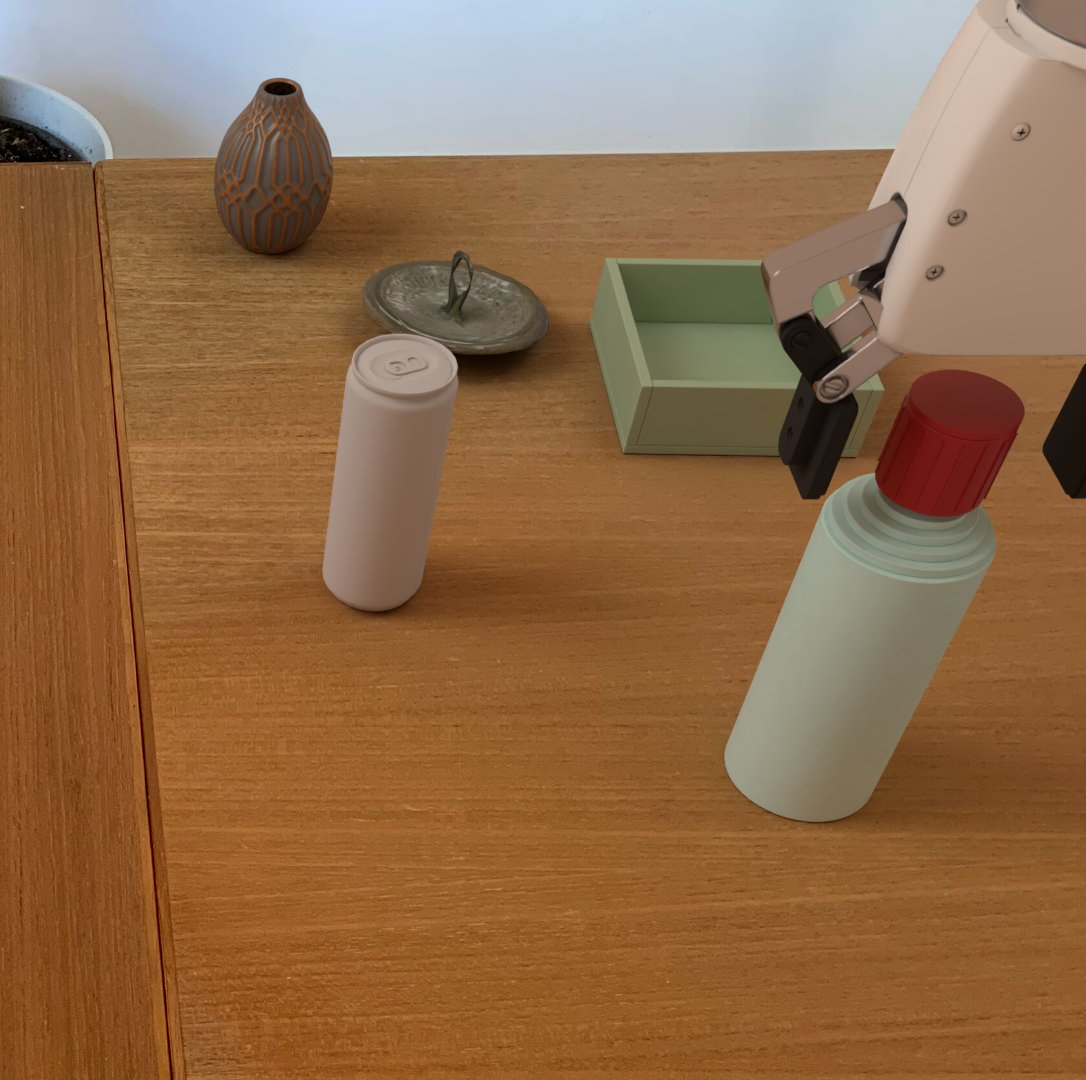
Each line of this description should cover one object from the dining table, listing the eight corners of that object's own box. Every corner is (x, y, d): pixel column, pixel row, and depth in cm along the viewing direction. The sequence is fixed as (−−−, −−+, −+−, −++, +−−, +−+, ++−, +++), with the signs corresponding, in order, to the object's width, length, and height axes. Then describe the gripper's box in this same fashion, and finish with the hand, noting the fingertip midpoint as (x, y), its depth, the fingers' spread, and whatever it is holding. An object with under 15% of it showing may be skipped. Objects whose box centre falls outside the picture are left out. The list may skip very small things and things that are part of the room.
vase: (268, 280, 98) (280, 129, 92) (187, 234, 102) (193, 84, 95) (350, 239, 101) (367, 89, 94) (269, 195, 104) (280, 47, 97)
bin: (805, 327, 96) (829, 260, 92) (857, 457, 88) (885, 390, 85) (589, 323, 96) (605, 257, 93) (622, 453, 88) (641, 386, 85)
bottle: (853, 719, 76) (1025, 362, 62) (889, 824, 72) (1081, 468, 58) (711, 717, 76) (849, 359, 62) (739, 821, 72) (894, 465, 58)
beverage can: (303, 567, 83) (328, 346, 73) (390, 542, 84) (425, 321, 74) (350, 627, 80) (382, 406, 70) (438, 601, 81) (482, 379, 72)
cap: (862, 451, 64) (897, 367, 61) (967, 453, 64) (1007, 369, 61) (888, 517, 61) (925, 432, 59) (997, 519, 61) (1040, 435, 58)
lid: (340, 383, 95) (349, 316, 90) (376, 252, 98) (386, 182, 94) (527, 418, 93) (546, 353, 89) (556, 285, 97) (576, 215, 92)
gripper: (1400, -79, 51) (1128, 416, 65) (828, -78, 51) (676, 417, 64) (1528, 34, 46) (1207, 540, 60) (900, 35, 46) (721, 542, 60)
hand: (932, 476), depth 62 cm, fingers open, 9 cm apart
